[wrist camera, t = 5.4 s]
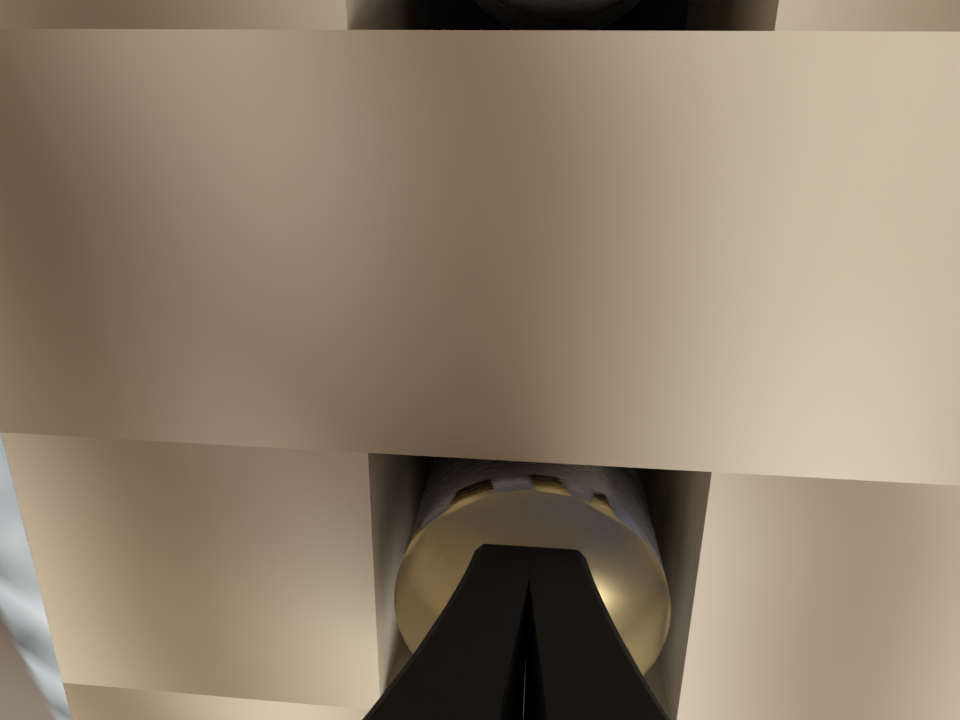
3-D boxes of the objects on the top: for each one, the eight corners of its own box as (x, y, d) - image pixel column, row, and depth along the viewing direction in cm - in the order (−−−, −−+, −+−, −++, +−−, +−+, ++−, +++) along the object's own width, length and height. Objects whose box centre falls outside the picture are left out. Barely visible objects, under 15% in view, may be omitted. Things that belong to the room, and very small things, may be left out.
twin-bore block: (1183, -683, 8) (2027, -1736, 4) (843, 697, 15) (972, 955, 11) (59, -596, 9) (-429, -1296, 5) (232, 648, 17) (107, 860, 12)
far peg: (640, 367, 13) (685, 499, 8) (624, 538, 14) (656, 727, 10) (442, 358, 13) (389, 481, 9) (443, 526, 14) (398, 705, 10)
